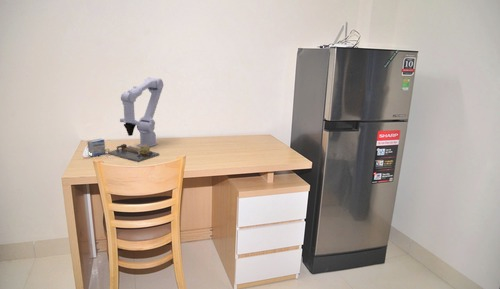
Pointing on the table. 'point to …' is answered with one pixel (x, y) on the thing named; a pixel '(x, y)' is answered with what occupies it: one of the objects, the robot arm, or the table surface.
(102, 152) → the medicine box
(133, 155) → the dark grey flat plate
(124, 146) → the beam
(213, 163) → the table surface
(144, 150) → the sliding head
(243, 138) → the table surface
